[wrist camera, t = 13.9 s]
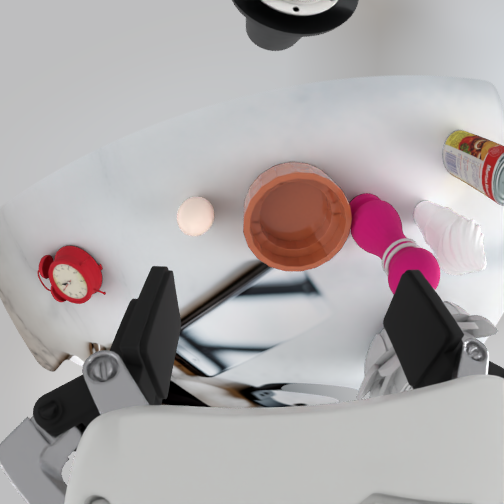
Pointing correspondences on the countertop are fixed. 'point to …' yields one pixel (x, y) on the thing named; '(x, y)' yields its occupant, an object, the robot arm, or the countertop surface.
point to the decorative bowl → (387, 363)
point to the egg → (195, 216)
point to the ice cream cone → (451, 238)
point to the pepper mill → (389, 240)
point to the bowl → (295, 217)
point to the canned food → (476, 163)
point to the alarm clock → (71, 275)
